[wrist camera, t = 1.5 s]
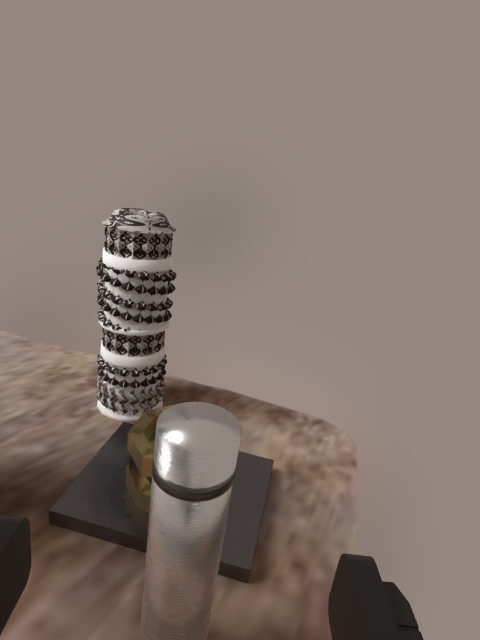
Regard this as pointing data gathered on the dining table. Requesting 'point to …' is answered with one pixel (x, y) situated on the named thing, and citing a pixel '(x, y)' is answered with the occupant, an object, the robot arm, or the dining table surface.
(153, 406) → the decorative candle
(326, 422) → the dining table surface
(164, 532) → the metal thermos flask
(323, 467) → the dining table surface
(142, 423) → the collar stand
